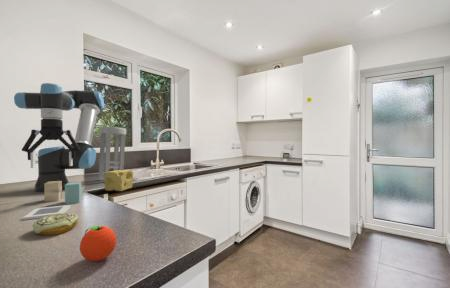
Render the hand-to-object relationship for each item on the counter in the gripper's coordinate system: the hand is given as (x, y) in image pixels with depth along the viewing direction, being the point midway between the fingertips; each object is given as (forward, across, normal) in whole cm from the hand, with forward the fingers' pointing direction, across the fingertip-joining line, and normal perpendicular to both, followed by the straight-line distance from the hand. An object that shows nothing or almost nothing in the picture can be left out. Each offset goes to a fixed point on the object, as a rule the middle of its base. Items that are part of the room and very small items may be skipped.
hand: (52, 166), depth 96 cm
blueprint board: (+15, +4, -21) cm, 26 cm away
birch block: (+15, 0, 0) cm, 15 cm away
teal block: (+15, +9, -8) cm, 19 cm away
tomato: (+16, +24, -64) cm, 71 cm away
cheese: (+15, +26, +12) cm, 33 cm away
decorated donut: (+16, +11, -40) cm, 45 cm away
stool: (+14, +20, +44) cm, 51 cm away
